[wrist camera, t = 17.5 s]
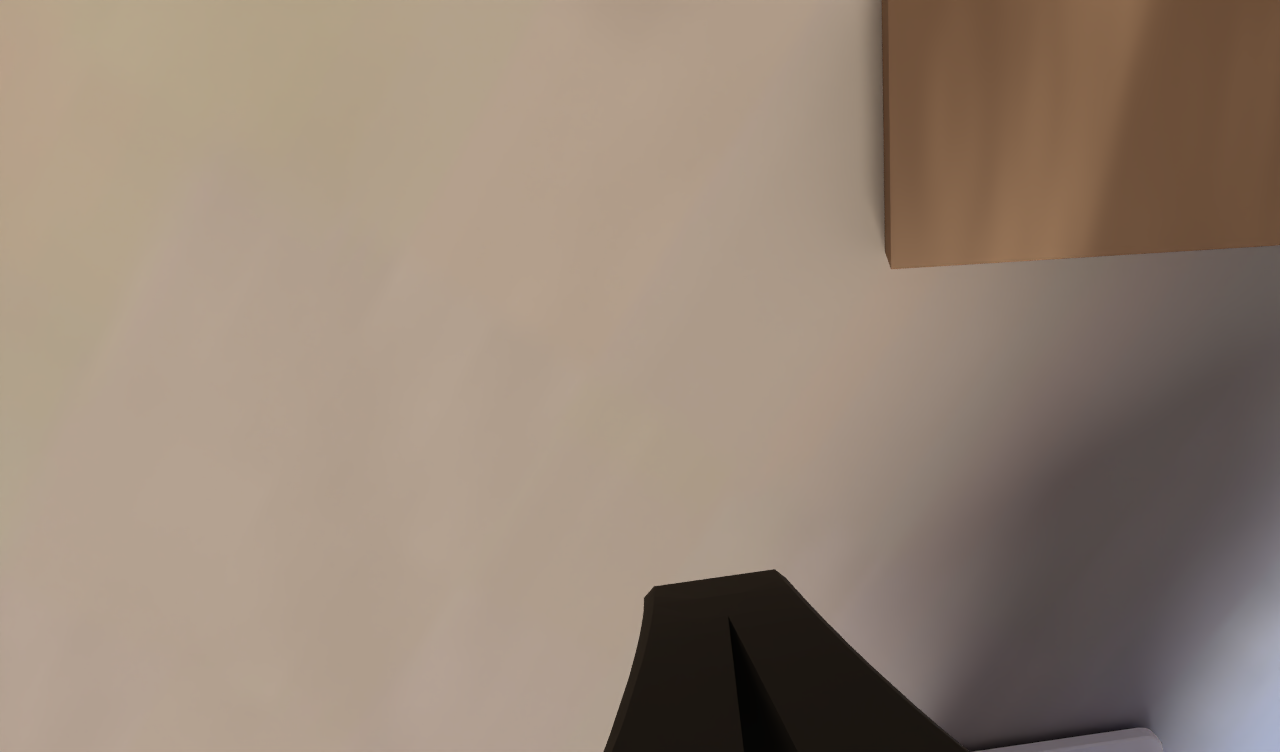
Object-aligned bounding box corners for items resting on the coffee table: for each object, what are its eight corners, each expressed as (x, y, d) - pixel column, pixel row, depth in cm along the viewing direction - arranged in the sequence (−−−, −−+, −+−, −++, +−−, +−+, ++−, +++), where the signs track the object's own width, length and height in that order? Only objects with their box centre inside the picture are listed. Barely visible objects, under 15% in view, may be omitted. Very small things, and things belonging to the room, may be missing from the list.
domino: (881, -4, 16) (1363, -66, 15) (885, 252, 18) (1318, 223, 16) (888, -10, 15) (1424, -80, 13) (891, 269, 16) (1367, 239, 15)
